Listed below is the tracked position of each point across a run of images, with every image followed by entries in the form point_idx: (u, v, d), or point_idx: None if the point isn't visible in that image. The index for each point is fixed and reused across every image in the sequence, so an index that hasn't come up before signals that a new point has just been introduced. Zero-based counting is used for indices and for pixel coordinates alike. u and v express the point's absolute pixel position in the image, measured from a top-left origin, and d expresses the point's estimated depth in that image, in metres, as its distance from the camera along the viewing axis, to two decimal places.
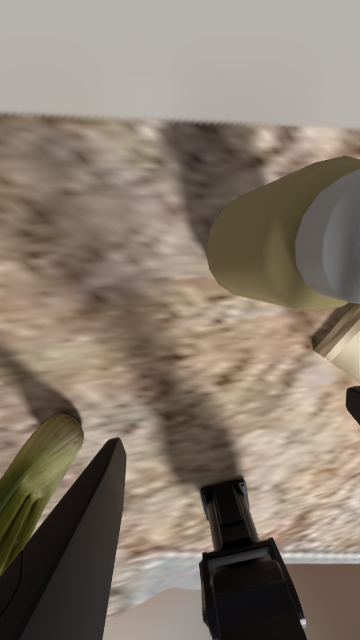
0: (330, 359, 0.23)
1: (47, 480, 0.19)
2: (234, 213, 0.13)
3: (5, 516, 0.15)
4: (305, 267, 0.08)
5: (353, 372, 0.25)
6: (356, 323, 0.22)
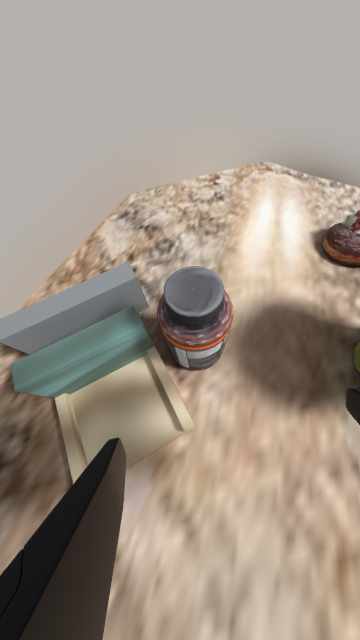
0: None
1: None
2: None
3: None
4: None
5: (140, 453, 0.19)
6: (65, 438, 0.19)
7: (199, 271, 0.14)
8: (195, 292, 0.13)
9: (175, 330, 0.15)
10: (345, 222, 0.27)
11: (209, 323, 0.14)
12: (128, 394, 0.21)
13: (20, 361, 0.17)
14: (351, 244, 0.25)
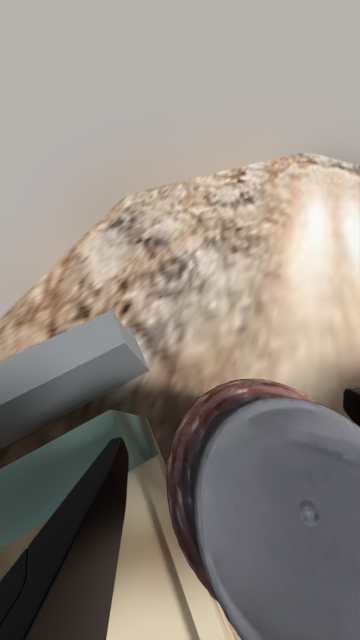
0: None
1: None
2: None
3: None
4: None
5: None
6: None
7: (312, 426, 0.04)
8: (320, 537, 0.03)
9: None
10: None
11: None
12: None
13: None
14: None
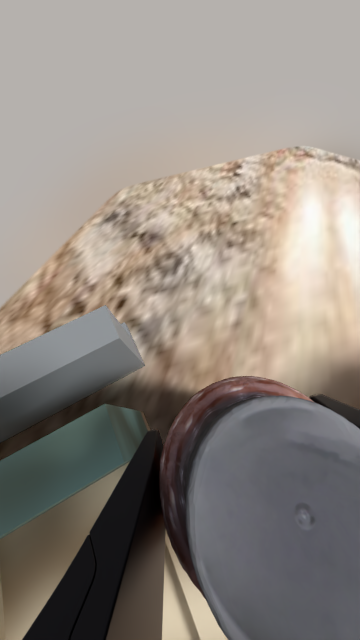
0: None
1: None
2: None
3: None
4: None
5: None
6: None
7: (308, 425, 0.04)
8: (316, 541, 0.03)
9: None
10: None
11: None
12: None
13: None
14: None
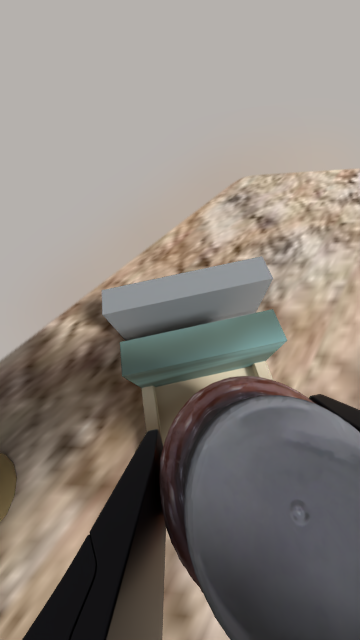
0: None
1: None
2: None
3: None
4: None
5: None
6: None
7: (304, 425, 0.04)
8: (311, 537, 0.03)
9: None
10: None
11: None
12: None
13: (130, 342, 0.14)
14: None
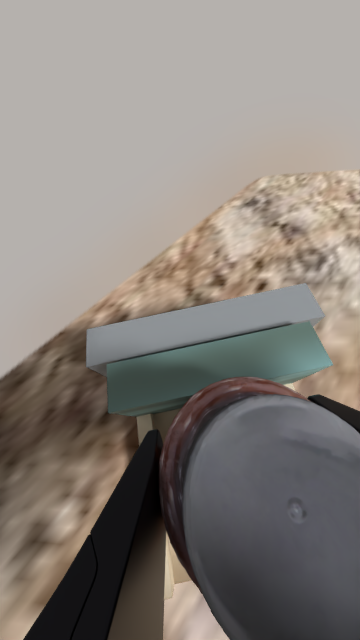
0: (166, 593, 0.11)
1: None
2: None
3: None
4: None
5: None
6: None
7: (302, 423, 0.04)
8: (308, 534, 0.03)
9: None
10: None
11: None
12: None
13: (121, 364, 0.11)
14: None
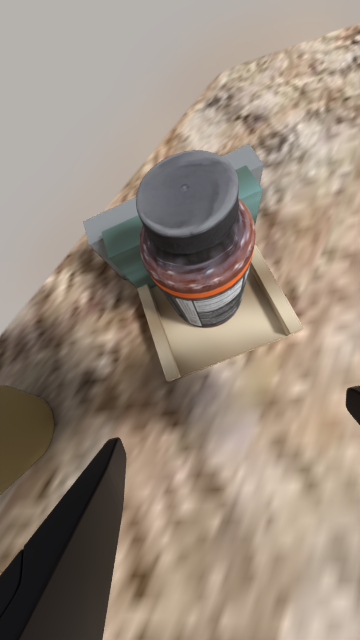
0: (174, 375, 0.16)
1: None
2: None
3: None
4: None
5: (231, 351, 0.17)
6: (151, 326, 0.18)
7: (190, 157, 0.08)
8: (188, 193, 0.08)
9: (169, 271, 0.09)
10: None
11: (220, 248, 0.09)
12: None
13: (111, 229, 0.15)
14: None
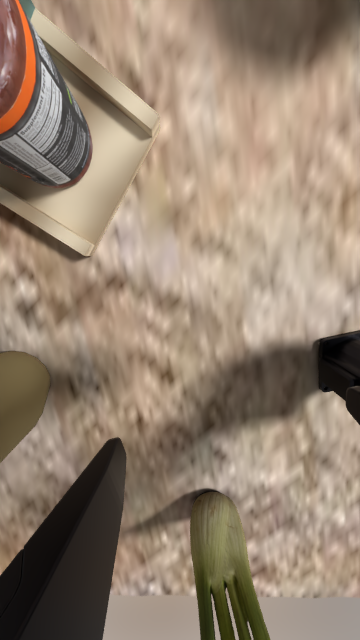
0: (87, 246, 0.16)
1: (225, 557, 0.22)
2: None
3: (221, 618, 0.19)
4: None
5: (117, 189, 0.16)
6: (27, 217, 0.15)
7: None
8: None
9: None
10: None
11: None
12: None
13: None
14: None
